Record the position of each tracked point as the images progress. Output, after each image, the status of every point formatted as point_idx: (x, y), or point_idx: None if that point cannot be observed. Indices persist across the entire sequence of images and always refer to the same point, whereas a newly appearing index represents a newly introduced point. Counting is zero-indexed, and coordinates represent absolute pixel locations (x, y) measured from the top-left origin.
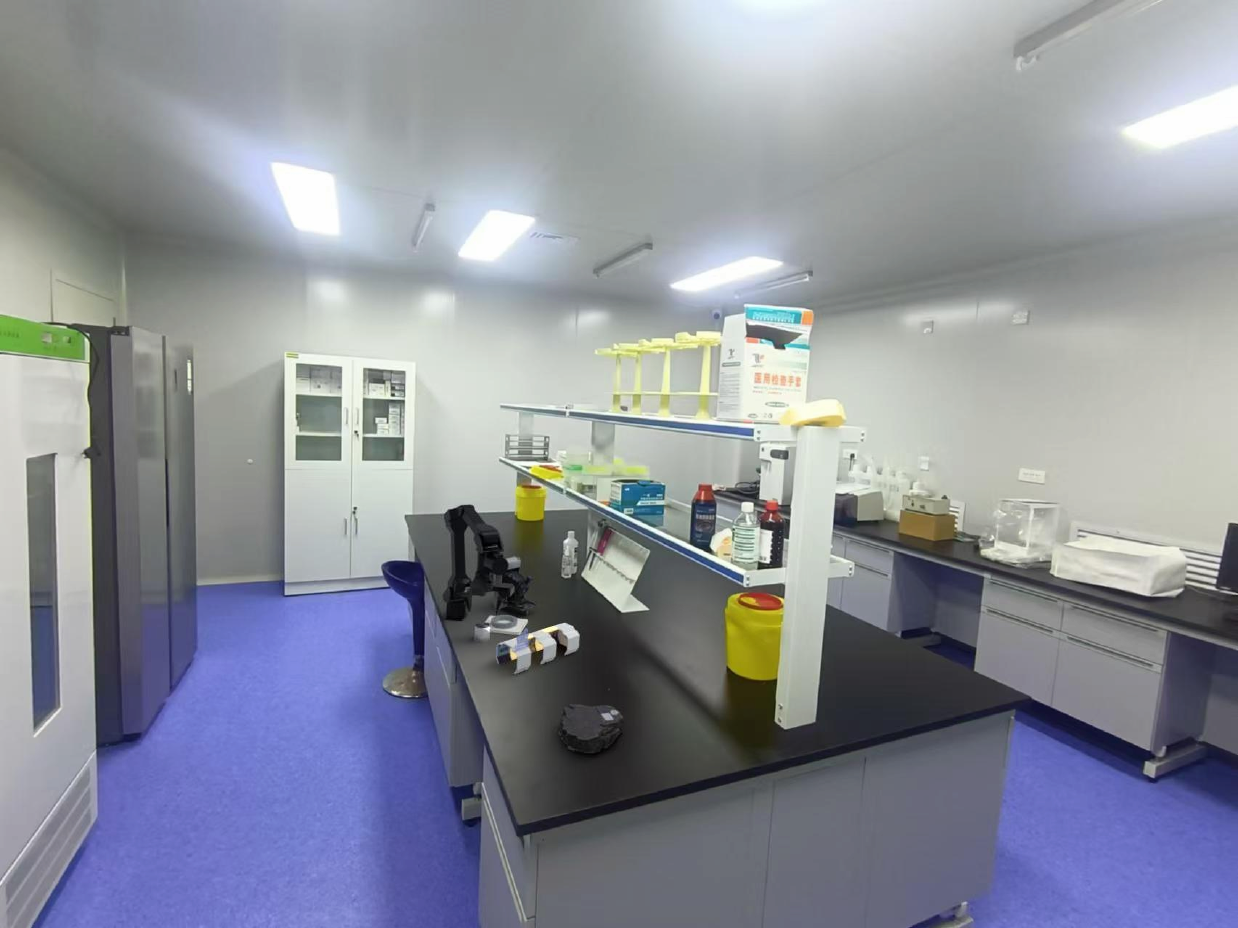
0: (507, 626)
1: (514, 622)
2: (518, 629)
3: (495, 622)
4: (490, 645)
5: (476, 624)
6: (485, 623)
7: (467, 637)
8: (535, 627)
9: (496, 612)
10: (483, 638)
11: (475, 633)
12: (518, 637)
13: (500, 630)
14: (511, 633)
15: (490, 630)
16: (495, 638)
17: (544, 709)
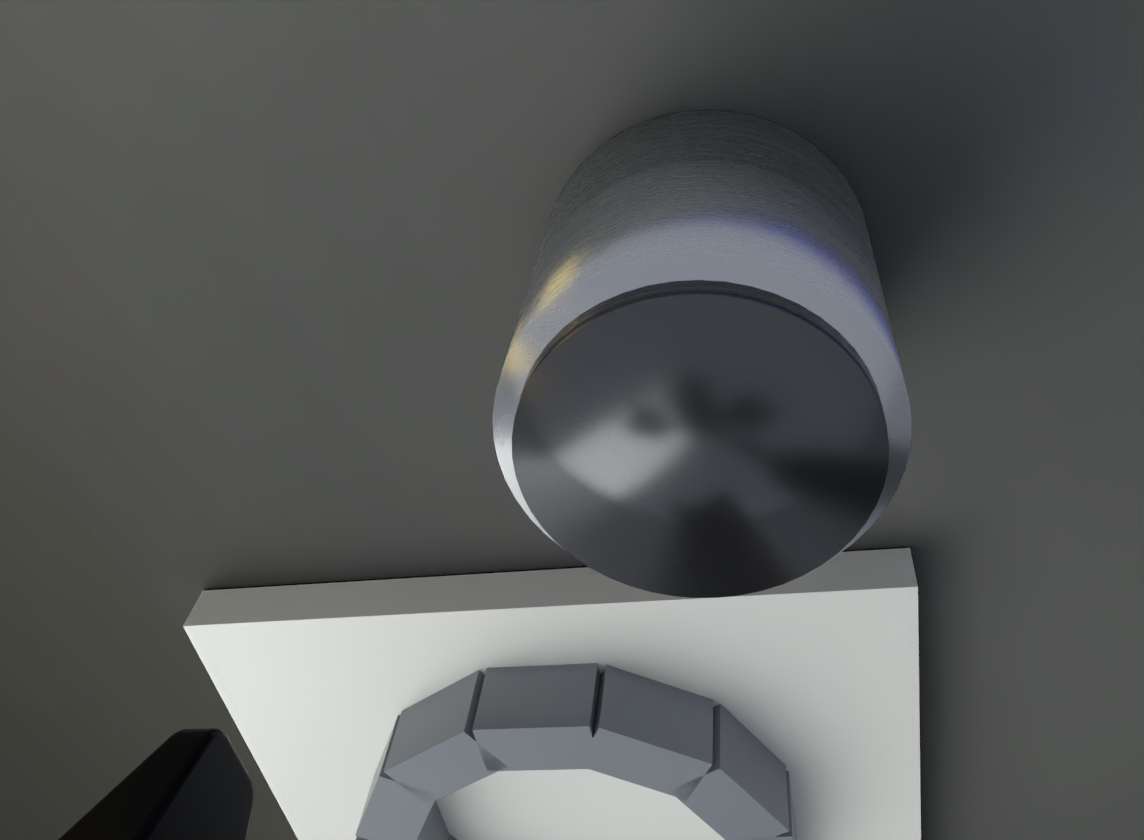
0: (432, 720)
1: (366, 825)
2: (266, 703)
3: (661, 765)
4: (375, 40)
5: (872, 420)
6: (667, 540)
7: (1046, 231)
8: None
9: (156, 787)
10: (599, 174)
11: (824, 213)
12: None
13: (504, 608)
14: (319, 593)
15: None
16: (474, 374)
17: None
